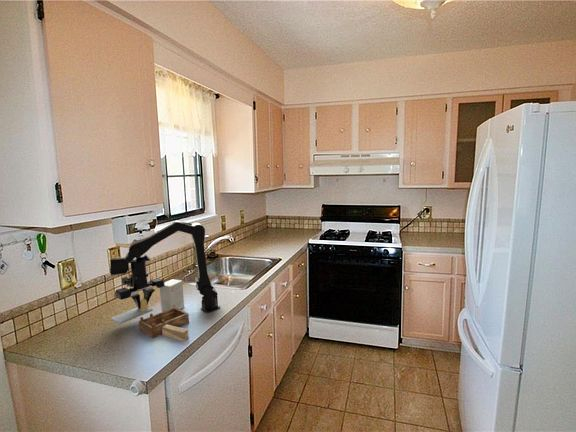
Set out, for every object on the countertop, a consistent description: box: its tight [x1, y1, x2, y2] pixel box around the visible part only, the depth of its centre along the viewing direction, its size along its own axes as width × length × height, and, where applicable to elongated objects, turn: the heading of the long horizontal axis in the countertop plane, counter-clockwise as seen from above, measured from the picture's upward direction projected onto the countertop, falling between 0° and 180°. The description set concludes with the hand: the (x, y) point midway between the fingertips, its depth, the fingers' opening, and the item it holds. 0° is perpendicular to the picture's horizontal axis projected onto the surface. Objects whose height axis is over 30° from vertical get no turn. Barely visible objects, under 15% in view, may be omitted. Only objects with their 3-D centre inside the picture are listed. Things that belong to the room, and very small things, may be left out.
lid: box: [110, 297, 154, 325], centre depth 135 cm, size 14×8×5 cm, turn 140°
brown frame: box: [138, 308, 190, 339], centre depth 134 cm, size 16×10×5 cm, turn 140°
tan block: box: [161, 324, 190, 342], centre depth 126 cm, size 2×11×4 cm, turn 64°
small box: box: [159, 279, 185, 313], centre depth 149 cm, size 8×6×13 cm
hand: (142, 307), depth 139 cm, fingers closed on lid, 2 cm apart
